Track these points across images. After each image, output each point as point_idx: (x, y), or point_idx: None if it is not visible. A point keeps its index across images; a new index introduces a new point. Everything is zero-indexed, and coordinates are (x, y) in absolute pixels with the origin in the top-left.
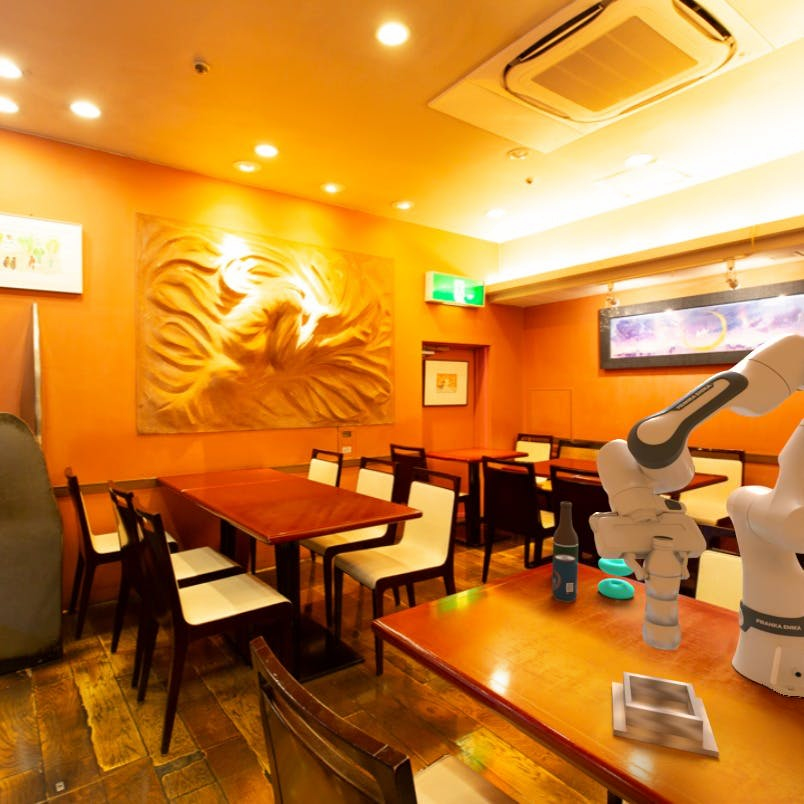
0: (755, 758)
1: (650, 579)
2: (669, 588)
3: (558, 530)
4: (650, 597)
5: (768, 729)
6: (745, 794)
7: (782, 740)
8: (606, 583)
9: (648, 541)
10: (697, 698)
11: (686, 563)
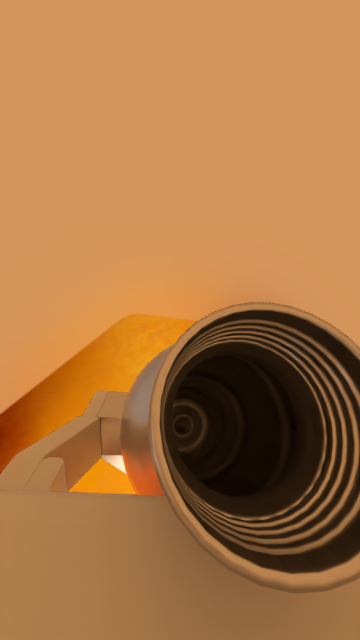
0: (122, 353)
1: (265, 396)
2: (205, 365)
3: None
4: (236, 413)
5: (65, 392)
6: (167, 319)
7: (69, 373)
8: None
9: (346, 621)
10: (103, 456)
11: (65, 428)
